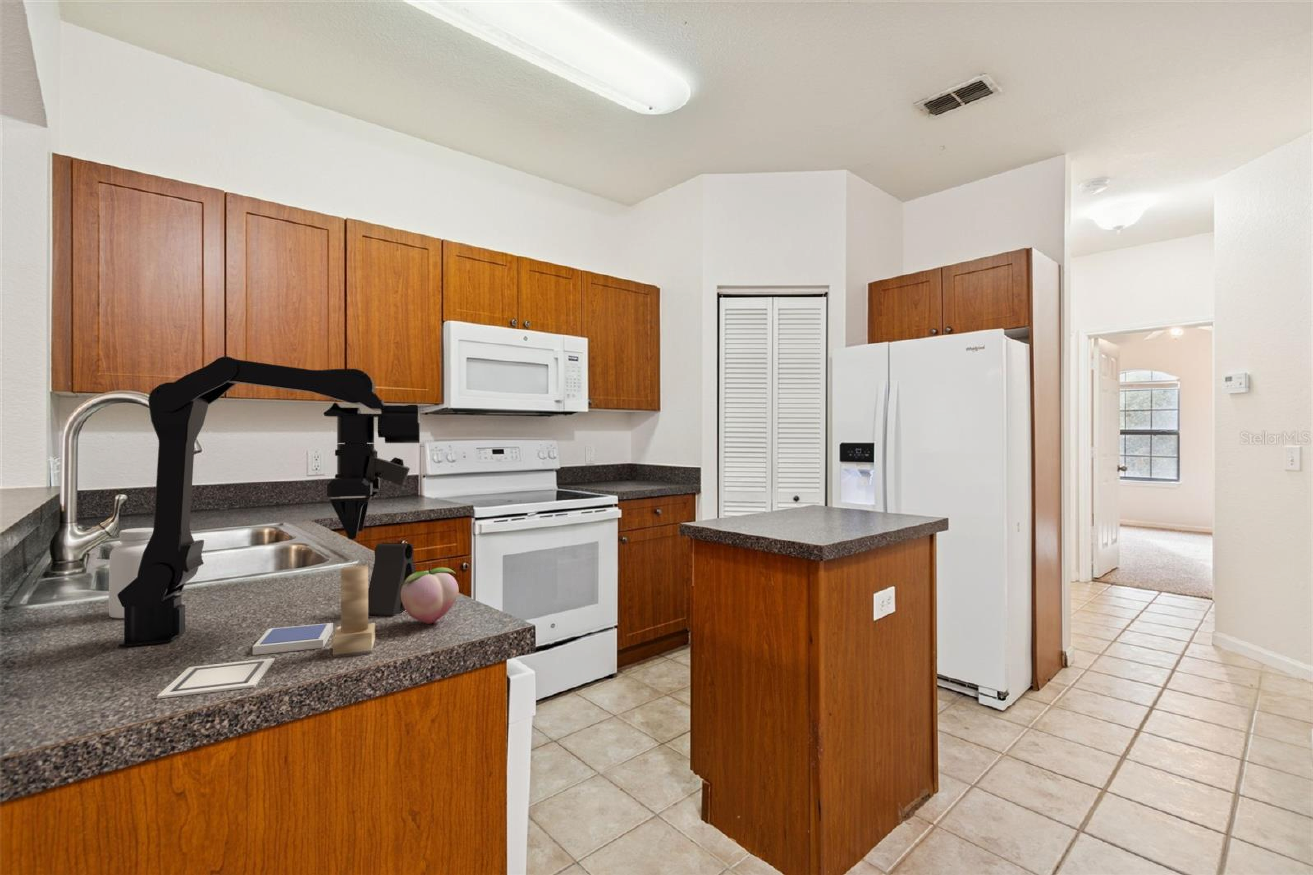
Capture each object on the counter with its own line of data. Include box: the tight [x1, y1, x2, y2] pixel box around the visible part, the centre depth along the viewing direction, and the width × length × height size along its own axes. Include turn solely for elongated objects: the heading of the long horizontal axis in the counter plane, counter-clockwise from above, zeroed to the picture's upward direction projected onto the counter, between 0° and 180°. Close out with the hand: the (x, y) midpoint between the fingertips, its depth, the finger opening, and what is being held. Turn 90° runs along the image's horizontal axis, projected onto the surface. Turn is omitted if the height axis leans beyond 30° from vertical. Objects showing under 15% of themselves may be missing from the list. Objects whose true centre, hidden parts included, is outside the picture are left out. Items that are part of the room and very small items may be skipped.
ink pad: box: [252, 622, 334, 656], centre depth 93 cm, size 9×9×1 cm
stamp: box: [332, 565, 376, 658], centre depth 90 cm, size 5×5×12 cm
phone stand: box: [368, 542, 417, 617], centre depth 112 cm, size 9×6×12 cm, turn 167°
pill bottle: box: [108, 527, 154, 619], centre depth 109 cm, size 8×8×15 cm
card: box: [156, 657, 276, 700], centre depth 79 cm, size 10×10×1 cm
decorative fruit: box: [401, 563, 460, 625], centre depth 103 cm, size 9×8×10 cm
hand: (356, 534), depth 104 cm, fingers open, 9 cm apart
